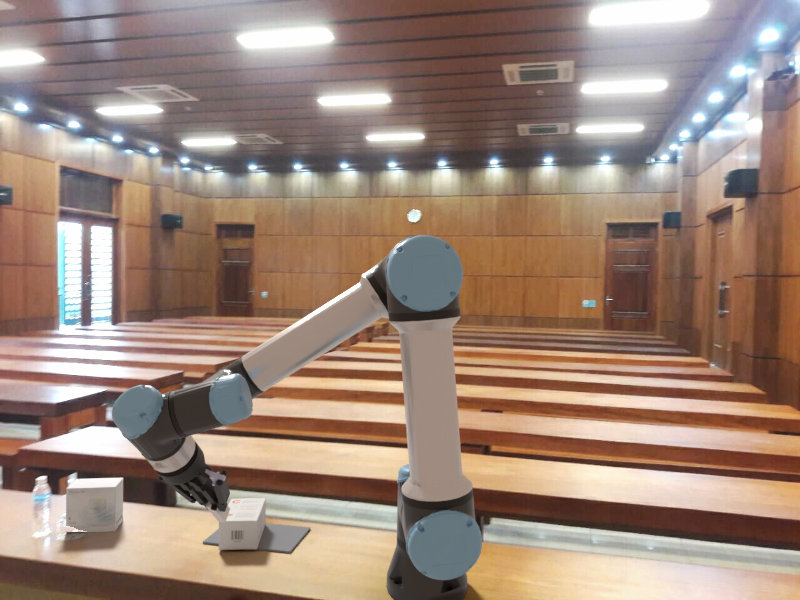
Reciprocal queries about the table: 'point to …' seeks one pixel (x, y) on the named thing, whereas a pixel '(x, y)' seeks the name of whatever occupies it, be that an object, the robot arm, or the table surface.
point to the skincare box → (95, 504)
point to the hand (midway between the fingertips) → (224, 515)
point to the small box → (243, 524)
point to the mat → (273, 537)
